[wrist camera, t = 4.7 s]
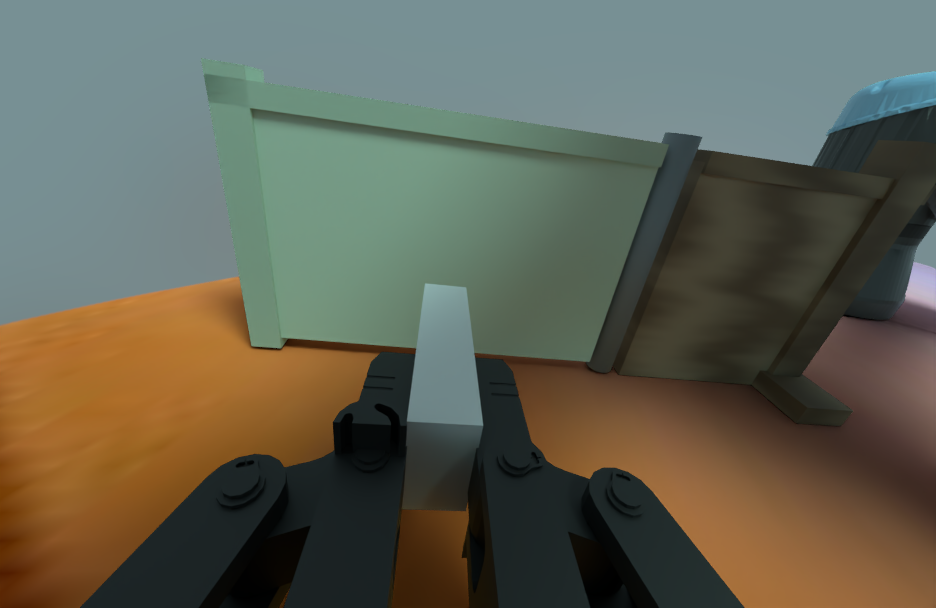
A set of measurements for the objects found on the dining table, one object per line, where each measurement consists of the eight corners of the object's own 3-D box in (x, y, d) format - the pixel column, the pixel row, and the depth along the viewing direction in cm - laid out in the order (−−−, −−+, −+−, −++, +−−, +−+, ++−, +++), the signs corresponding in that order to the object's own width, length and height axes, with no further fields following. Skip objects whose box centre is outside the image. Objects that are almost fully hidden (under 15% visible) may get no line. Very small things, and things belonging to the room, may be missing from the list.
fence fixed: (740, 348, 28) (859, 143, 21) (840, 426, 21) (1068, 154, 14) (592, 335, 27) (669, 112, 20) (645, 413, 19) (793, 106, 13)
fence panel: (605, 358, 24) (688, 136, 18) (615, 373, 22) (709, 138, 16) (264, 331, 21) (223, 64, 15) (251, 346, 20) (200, 58, 14)
